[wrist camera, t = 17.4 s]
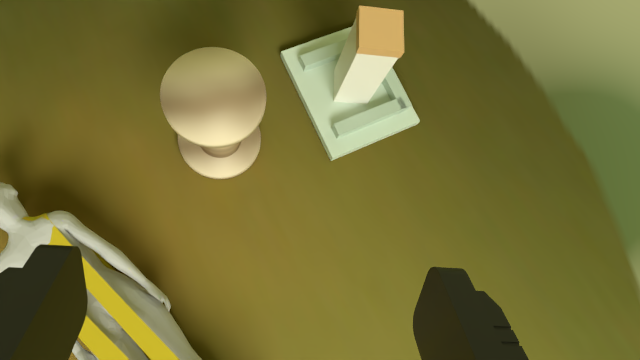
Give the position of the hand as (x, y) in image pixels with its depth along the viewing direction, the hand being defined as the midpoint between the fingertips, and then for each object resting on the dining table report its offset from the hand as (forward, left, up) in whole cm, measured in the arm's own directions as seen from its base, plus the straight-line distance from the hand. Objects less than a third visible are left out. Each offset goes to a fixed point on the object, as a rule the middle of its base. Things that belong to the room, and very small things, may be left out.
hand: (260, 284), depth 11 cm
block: (-14, +17, -32) cm, 39 cm away
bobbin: (-14, +3, -33) cm, 36 cm away
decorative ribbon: (-2, -10, -33) cm, 35 cm away
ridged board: (-14, +17, -33) cm, 39 cm away
